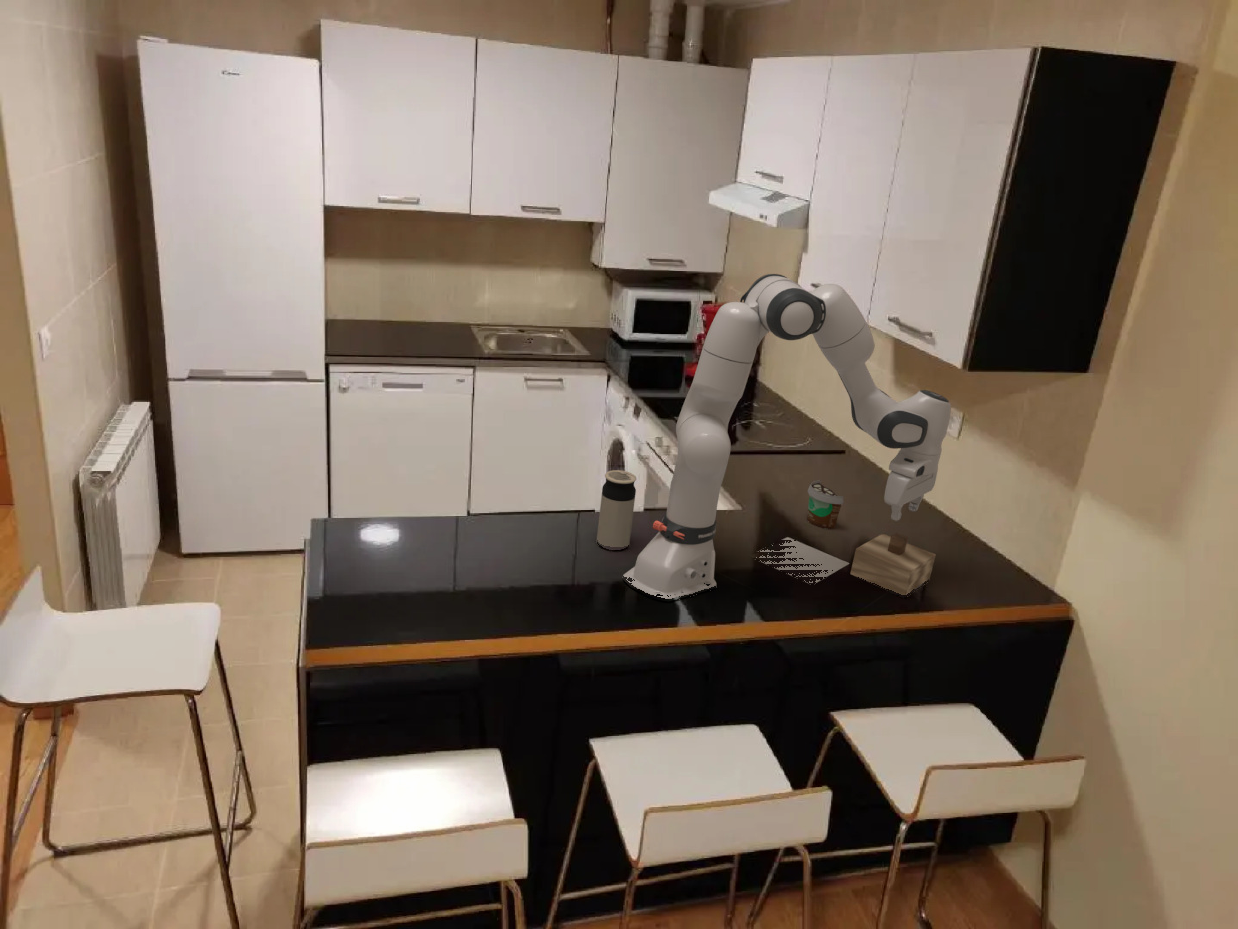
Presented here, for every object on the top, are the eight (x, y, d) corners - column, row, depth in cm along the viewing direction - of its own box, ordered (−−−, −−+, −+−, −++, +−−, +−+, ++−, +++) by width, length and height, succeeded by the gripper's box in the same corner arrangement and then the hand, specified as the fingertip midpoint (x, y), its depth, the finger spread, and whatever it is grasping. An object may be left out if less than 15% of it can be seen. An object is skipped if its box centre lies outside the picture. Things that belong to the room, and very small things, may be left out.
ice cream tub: (793, 513, 254) (800, 480, 251) (812, 512, 257) (819, 479, 253) (817, 532, 244) (824, 498, 240) (837, 531, 246) (844, 497, 242)
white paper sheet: (812, 586, 214) (812, 584, 214) (748, 557, 225) (748, 556, 225) (849, 565, 227) (849, 563, 227) (787, 538, 238) (787, 537, 238)
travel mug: (610, 554, 219) (618, 484, 212) (589, 541, 224) (597, 472, 218) (635, 547, 224) (644, 479, 217) (615, 534, 229) (623, 467, 223)
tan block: (903, 599, 214) (914, 555, 210) (849, 575, 222) (859, 533, 218) (928, 581, 224) (939, 539, 220) (876, 559, 232) (886, 519, 228)
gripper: (924, 447, 221) (910, 500, 226) (886, 464, 207) (872, 519, 211) (949, 456, 218) (934, 509, 223) (912, 473, 203) (897, 529, 208)
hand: (904, 514), depth 217 cm, fingers open, 8 cm apart
